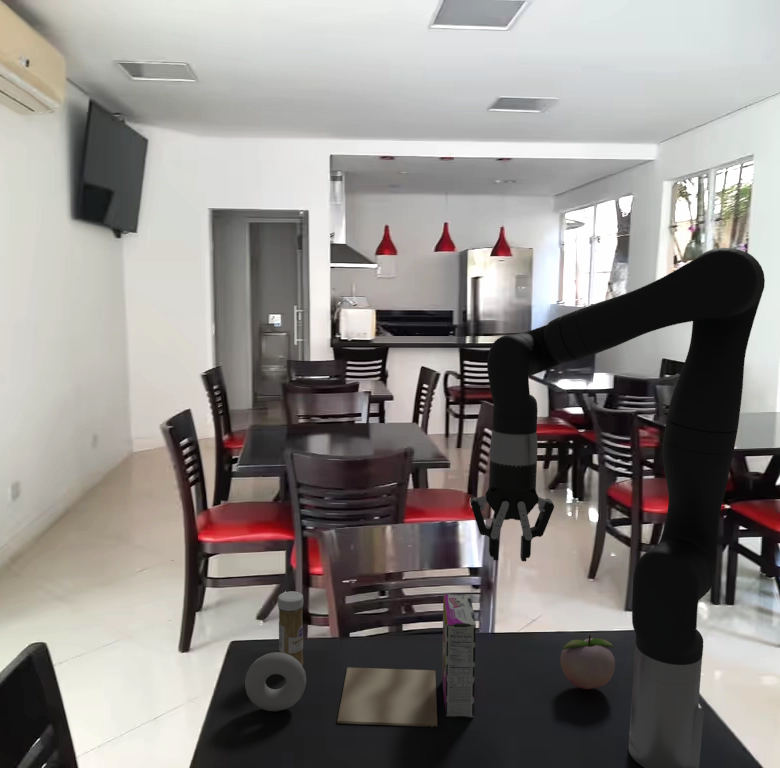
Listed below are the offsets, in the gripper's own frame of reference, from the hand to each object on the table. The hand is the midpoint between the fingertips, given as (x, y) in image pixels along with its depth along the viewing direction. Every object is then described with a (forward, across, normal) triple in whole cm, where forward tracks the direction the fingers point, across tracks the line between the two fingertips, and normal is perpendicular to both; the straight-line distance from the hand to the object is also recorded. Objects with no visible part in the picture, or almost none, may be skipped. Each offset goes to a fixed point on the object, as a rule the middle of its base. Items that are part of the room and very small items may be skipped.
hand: (509, 558), depth 119 cm
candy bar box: (+25, -8, 0) cm, 27 cm away
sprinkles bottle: (+25, -38, +9) cm, 47 cm away
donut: (+25, -38, -5) cm, 46 cm away
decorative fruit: (+25, +15, +4) cm, 30 cm away
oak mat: (+25, -20, 0) cm, 32 cm away
